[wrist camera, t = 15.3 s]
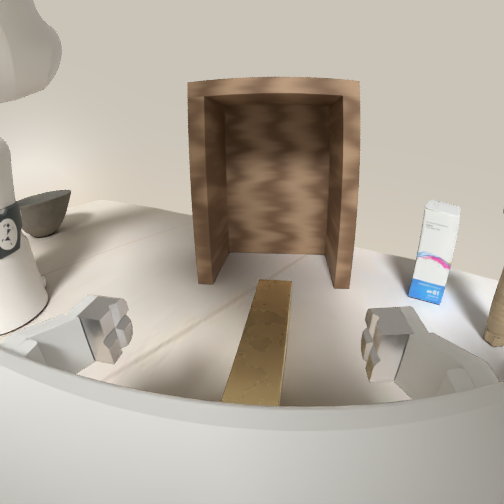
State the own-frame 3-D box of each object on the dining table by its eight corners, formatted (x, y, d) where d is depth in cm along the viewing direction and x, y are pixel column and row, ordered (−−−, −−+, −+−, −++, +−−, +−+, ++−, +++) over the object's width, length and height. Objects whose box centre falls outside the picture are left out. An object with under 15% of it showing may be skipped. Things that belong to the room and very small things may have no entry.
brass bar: (259, 279, 34) (259, 306, 36) (200, 462, 13) (208, 487, 14) (291, 281, 34) (290, 308, 35) (267, 472, 13) (266, 495, 14)
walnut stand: (198, 283, 41) (187, 82, 31) (220, 247, 54) (214, 96, 44) (348, 288, 38) (359, 81, 29) (335, 250, 51) (340, 96, 42)
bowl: (22, 232, 69) (16, 199, 66) (77, 220, 78) (73, 186, 74) (6, 252, 54) (-2, 211, 50) (73, 237, 62) (67, 195, 59)
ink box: (441, 306, 32) (461, 215, 28) (406, 297, 35) (422, 207, 31) (446, 281, 39) (460, 204, 34) (417, 274, 42) (428, 197, 37)
